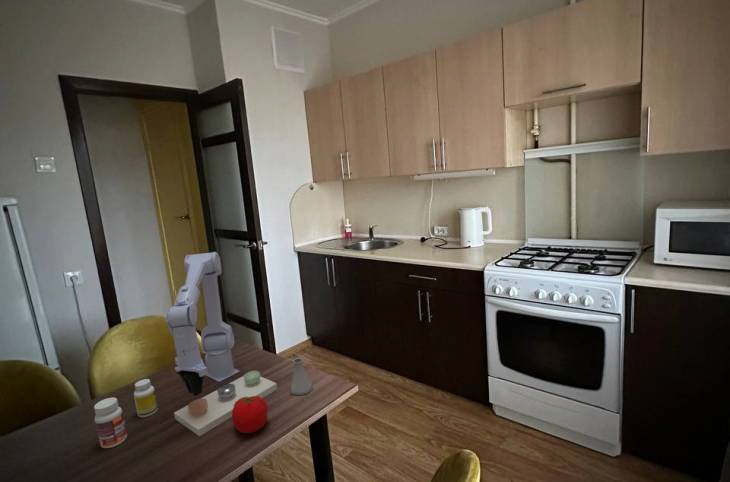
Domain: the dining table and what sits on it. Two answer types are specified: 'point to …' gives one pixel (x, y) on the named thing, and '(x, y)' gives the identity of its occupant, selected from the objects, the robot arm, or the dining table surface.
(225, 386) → the grey button
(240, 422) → the tomato
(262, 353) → the dining table surface
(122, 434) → the pill bottle
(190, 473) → the dining table surface
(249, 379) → the sage button
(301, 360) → the flask
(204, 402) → the terracotta button
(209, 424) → the control panel
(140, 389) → the supplement bottle
